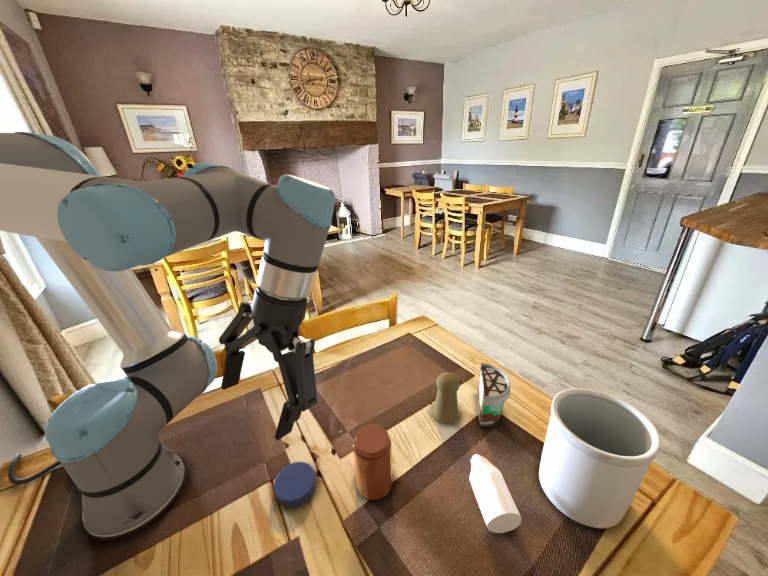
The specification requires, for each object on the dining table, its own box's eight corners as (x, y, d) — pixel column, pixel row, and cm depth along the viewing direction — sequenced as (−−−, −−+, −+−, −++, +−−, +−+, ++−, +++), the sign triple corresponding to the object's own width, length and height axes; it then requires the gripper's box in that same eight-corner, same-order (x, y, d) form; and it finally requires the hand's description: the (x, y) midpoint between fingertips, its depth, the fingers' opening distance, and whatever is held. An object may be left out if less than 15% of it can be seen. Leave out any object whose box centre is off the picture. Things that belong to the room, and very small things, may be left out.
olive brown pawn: (463, 418, 73) (467, 382, 68) (441, 426, 71) (443, 389, 66) (449, 400, 78) (452, 365, 73) (428, 408, 76) (430, 372, 72)
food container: (509, 436, 68) (516, 401, 64) (480, 431, 69) (485, 398, 65) (501, 395, 79) (507, 364, 75) (476, 392, 80) (480, 361, 76)
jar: (354, 498, 57) (349, 453, 52) (360, 464, 63) (356, 421, 58) (390, 501, 56) (389, 456, 51) (393, 466, 62) (392, 423, 57)
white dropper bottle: (489, 464, 62) (492, 444, 60) (519, 530, 52) (525, 510, 49) (460, 467, 62) (462, 448, 60) (484, 535, 51) (488, 515, 49)
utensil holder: (518, 459, 63) (533, 393, 56) (582, 446, 66) (605, 381, 58) (570, 541, 50) (599, 469, 43) (648, 521, 52) (689, 450, 45)
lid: (323, 477, 61) (322, 471, 60) (298, 515, 55) (296, 508, 54) (294, 462, 64) (292, 456, 63) (267, 496, 58) (265, 489, 57)
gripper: (367, 325, 42) (326, 444, 48) (251, 257, 53) (230, 362, 59) (331, 339, 36) (289, 474, 42) (208, 258, 46) (188, 375, 52)
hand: (254, 409), depth 50 cm, fingers open, 13 cm apart
